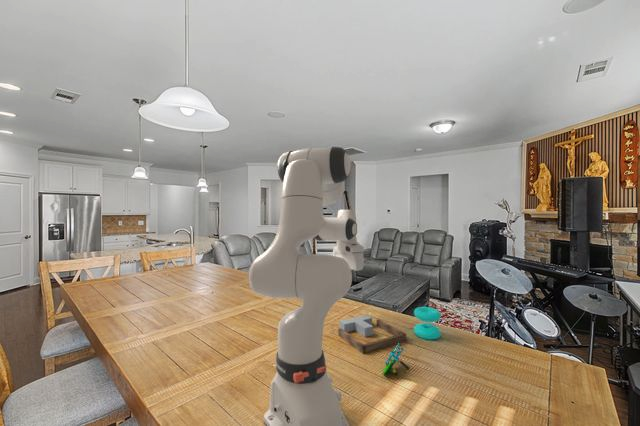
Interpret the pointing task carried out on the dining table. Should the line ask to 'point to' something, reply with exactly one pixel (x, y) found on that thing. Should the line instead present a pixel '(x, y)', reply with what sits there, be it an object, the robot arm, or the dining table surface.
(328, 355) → the dining table surface
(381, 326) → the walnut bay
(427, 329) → the donuts
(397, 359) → the stick construction toy
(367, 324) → the T-block
